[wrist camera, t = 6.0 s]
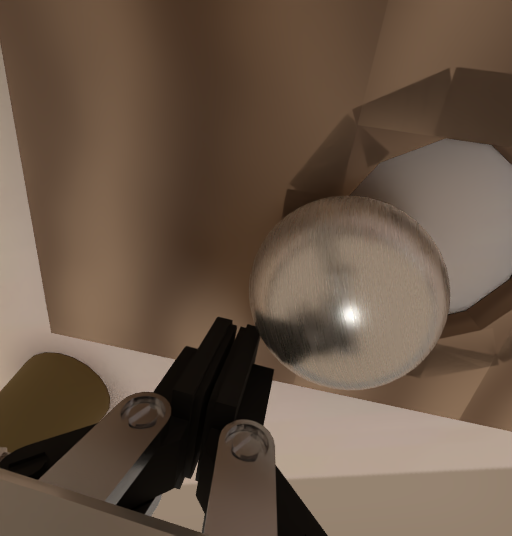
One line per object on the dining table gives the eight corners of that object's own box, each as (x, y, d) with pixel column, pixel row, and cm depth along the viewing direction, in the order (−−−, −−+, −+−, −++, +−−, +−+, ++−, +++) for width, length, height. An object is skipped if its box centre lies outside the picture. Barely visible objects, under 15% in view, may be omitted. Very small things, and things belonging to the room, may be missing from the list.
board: (69, 317, 19) (51, 332, 18) (18, -51, 12) (-20, -72, 11) (507, 408, 17) (524, 434, 16) (754, 34, 10) (823, 21, 9)
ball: (195, 368, 8) (479, 370, 6) (226, 182, 11) (429, 123, 8) (286, 397, 13) (464, 406, 10) (292, 262, 16) (435, 241, 13)
